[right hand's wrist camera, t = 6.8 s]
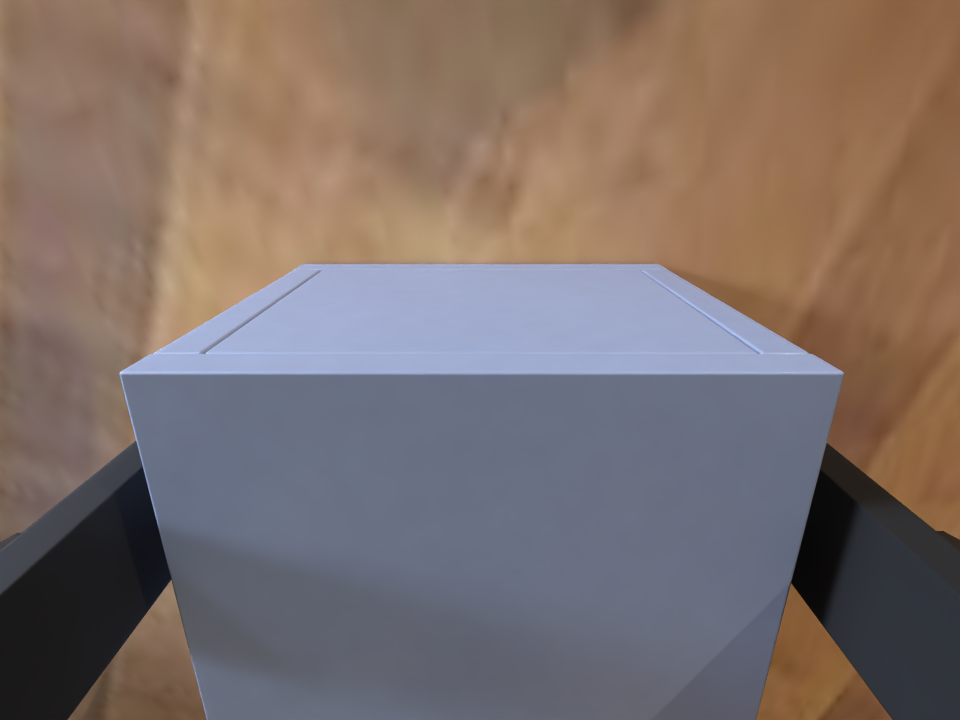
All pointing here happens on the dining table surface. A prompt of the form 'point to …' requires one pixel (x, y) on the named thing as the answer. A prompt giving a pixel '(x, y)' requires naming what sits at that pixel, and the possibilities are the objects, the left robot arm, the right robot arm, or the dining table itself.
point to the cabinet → (481, 493)
